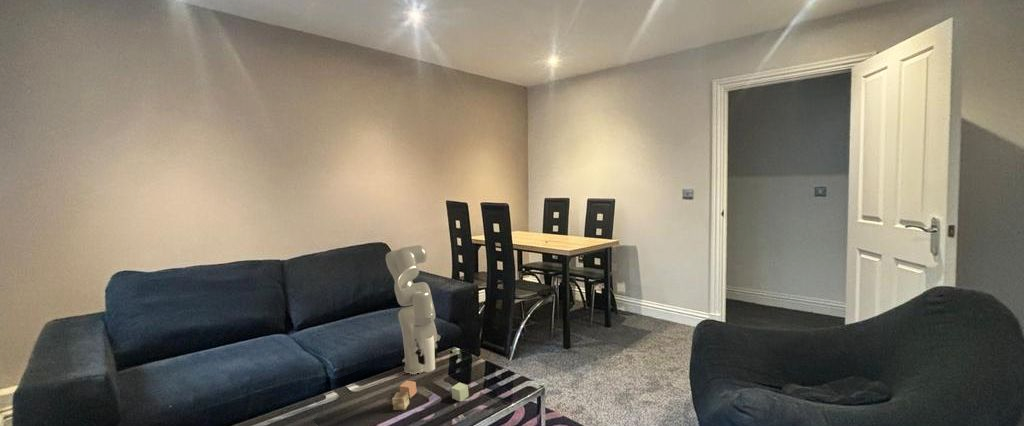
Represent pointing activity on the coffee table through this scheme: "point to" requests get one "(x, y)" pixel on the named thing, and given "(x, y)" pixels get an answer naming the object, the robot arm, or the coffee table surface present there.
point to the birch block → (400, 401)
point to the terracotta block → (408, 388)
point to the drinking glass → (429, 355)
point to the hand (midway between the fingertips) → (428, 359)
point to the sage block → (459, 391)
